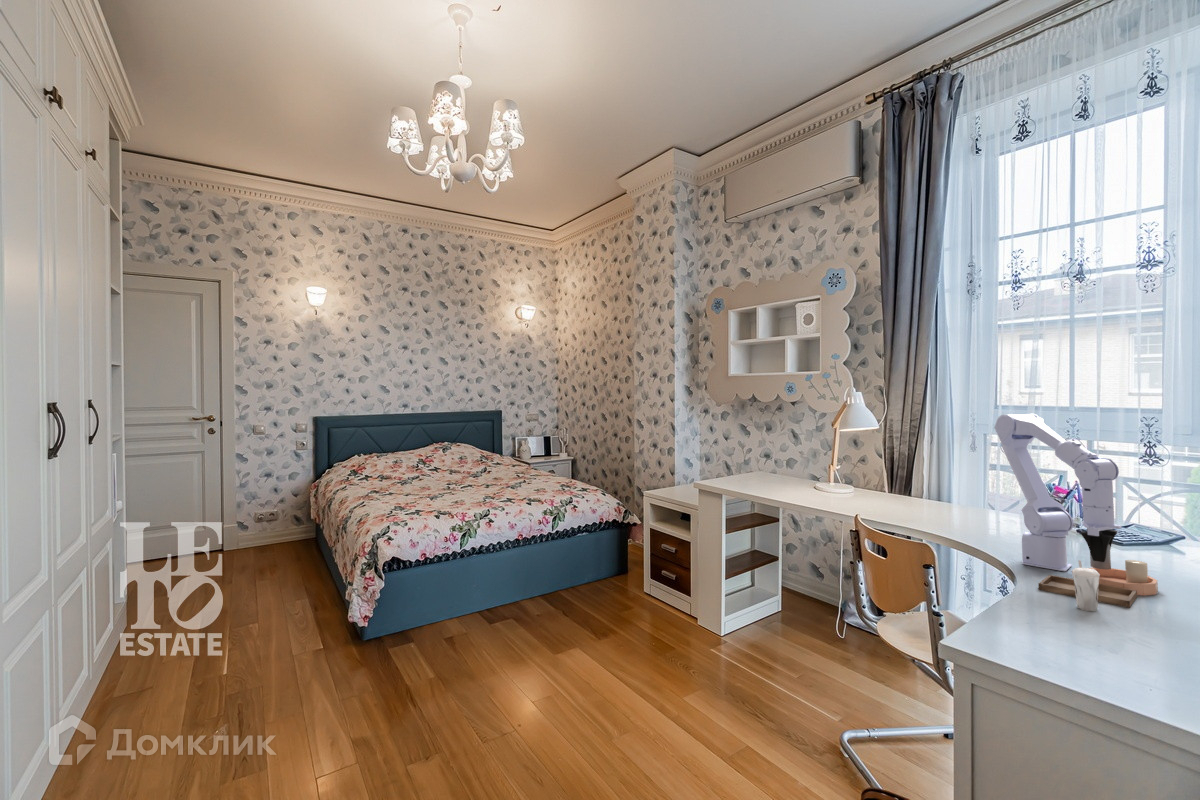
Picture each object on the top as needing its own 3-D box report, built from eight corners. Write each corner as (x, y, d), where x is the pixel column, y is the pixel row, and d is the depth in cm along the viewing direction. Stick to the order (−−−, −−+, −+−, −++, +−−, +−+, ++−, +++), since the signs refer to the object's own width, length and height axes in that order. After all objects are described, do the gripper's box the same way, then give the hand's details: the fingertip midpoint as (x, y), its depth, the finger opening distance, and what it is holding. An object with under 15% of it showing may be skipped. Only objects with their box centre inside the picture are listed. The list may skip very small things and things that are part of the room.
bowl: (1078, 585, 131) (1077, 575, 131) (1089, 574, 139) (1089, 564, 139) (1152, 599, 121) (1152, 588, 121) (1160, 586, 129) (1160, 576, 129)
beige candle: (1125, 586, 128) (1124, 562, 128) (1126, 583, 130) (1125, 559, 130) (1147, 590, 125) (1146, 565, 125) (1148, 586, 127) (1147, 562, 127)
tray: (1038, 589, 129) (1038, 583, 129) (1049, 580, 135) (1049, 574, 135) (1129, 607, 117) (1129, 601, 117) (1137, 597, 123) (1136, 590, 123)
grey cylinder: (1089, 567, 133) (1088, 543, 133) (1091, 564, 135) (1090, 541, 136) (1110, 570, 130) (1109, 546, 130) (1111, 567, 133) (1110, 543, 133)
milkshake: (1094, 605, 119) (1092, 561, 119) (1105, 614, 114) (1103, 568, 114) (1068, 602, 121) (1066, 559, 121) (1078, 611, 116) (1076, 566, 116)
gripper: (1114, 512, 125) (1117, 568, 125) (1125, 504, 134) (1127, 557, 134) (1075, 508, 131) (1077, 562, 131) (1088, 500, 140) (1090, 551, 140)
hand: (1100, 559), depth 133 cm, fingers closed on grey cylinder, 4 cm apart
